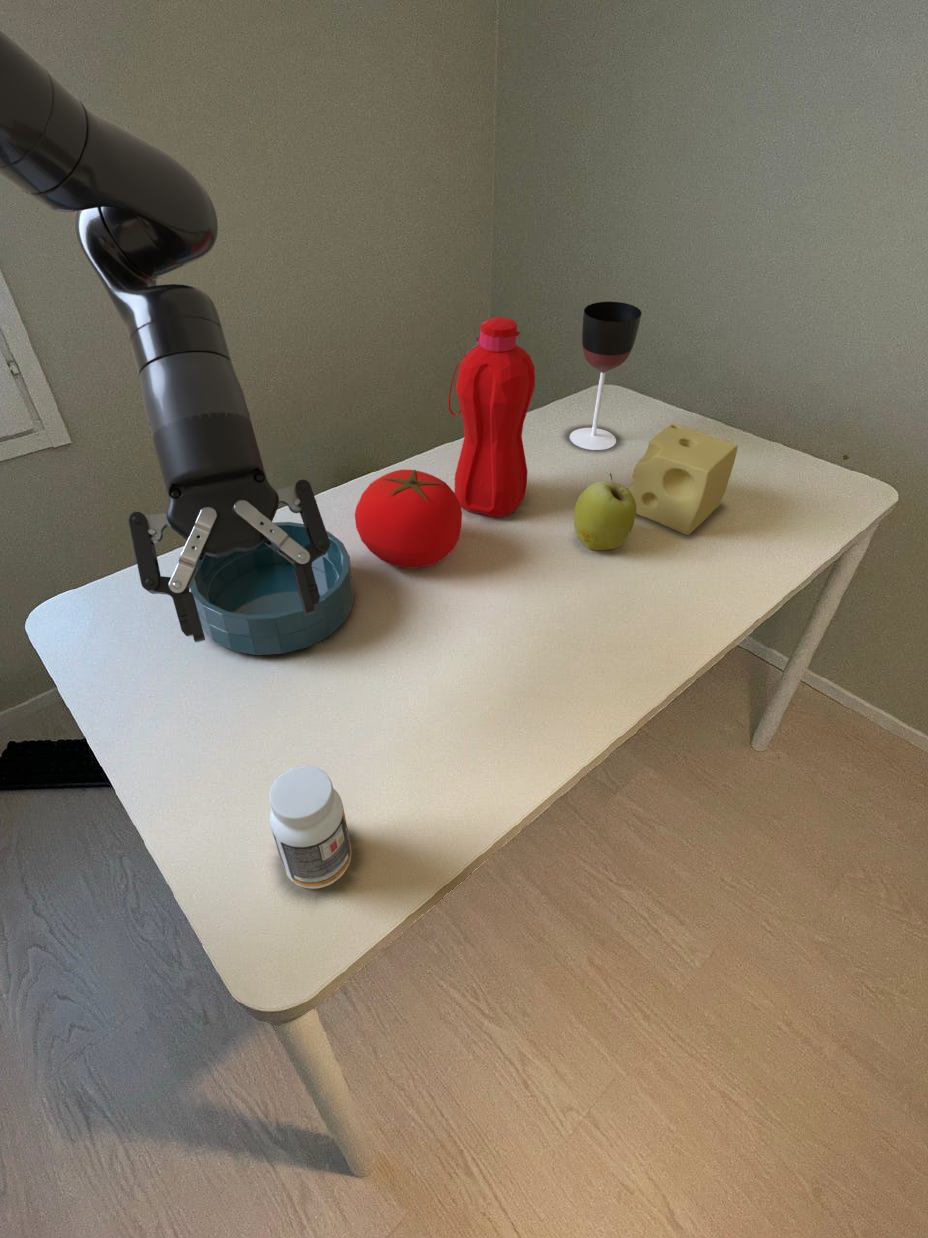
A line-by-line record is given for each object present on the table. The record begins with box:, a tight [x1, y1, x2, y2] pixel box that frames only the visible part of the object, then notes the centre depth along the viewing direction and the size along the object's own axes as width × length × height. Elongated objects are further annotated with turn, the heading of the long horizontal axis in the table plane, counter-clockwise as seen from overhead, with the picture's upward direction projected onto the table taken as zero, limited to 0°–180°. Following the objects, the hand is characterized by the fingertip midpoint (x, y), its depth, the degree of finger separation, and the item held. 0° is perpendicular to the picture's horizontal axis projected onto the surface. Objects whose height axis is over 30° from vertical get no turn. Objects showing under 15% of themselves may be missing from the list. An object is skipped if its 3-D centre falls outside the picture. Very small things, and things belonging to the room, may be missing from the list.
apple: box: [573, 473, 637, 551], centre depth 90 cm, size 8×8×10 cm
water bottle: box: [448, 316, 536, 518], centre depth 92 cm, size 9×11×25 cm
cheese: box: [627, 422, 739, 536], centre depth 96 cm, size 10×11×10 cm
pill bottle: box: [268, 765, 352, 890], centre depth 56 cm, size 6×6×10 cm
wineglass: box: [569, 301, 642, 451], centre depth 108 cm, size 8×9×20 cm
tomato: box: [354, 469, 463, 569], centre depth 87 cm, size 12×13×11 cm
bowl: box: [189, 521, 354, 656], centre depth 80 cm, size 17×17×6 cm
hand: (256, 626), depth 55 cm, fingers open, 8 cm apart
